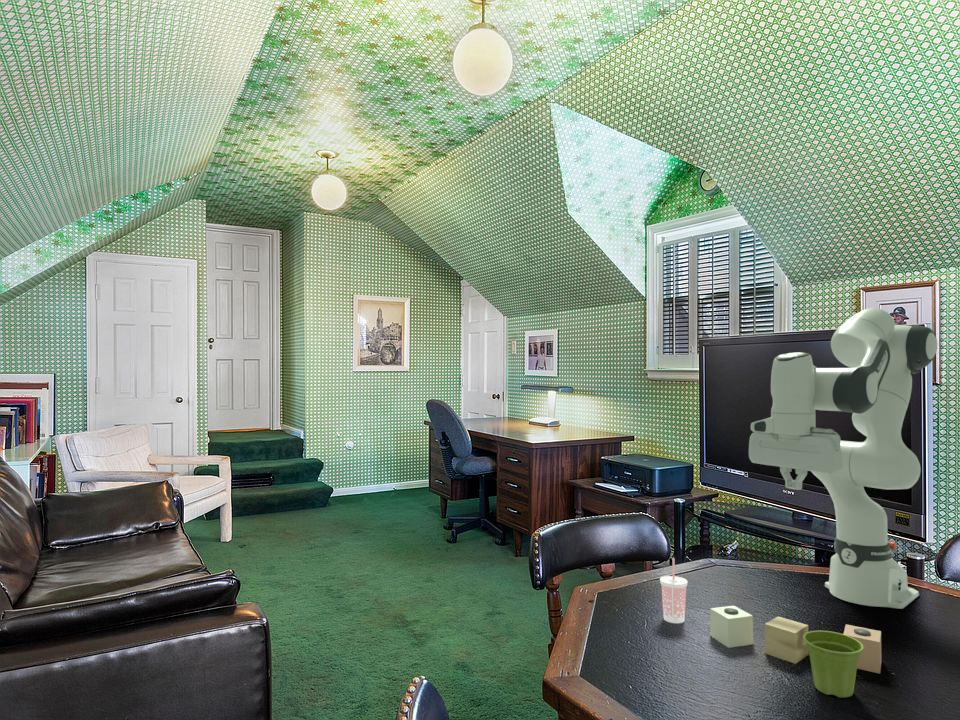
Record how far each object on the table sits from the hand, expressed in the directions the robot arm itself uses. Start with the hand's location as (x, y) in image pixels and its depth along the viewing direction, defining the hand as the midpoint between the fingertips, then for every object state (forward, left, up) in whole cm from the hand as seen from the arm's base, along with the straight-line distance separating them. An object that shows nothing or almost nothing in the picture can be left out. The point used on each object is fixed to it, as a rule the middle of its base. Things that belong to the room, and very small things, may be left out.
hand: (793, 488), depth 138 cm
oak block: (+12, +6, -31) cm, 34 cm away
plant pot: (+18, +19, -31) cm, 41 cm away
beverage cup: (+18, -18, -31) cm, 40 cm away
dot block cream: (+16, -4, -31) cm, 35 cm away
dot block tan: (+3, +16, -31) cm, 35 cm away
